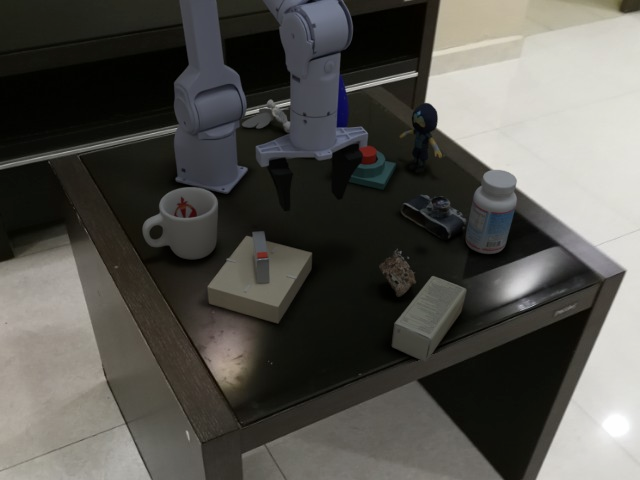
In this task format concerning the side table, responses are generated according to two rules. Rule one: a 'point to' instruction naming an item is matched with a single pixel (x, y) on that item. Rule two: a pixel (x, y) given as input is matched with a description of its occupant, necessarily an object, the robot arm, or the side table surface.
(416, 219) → the camera
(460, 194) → the side table surface
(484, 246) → the pill bottle
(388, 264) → the rock
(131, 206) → the side table surface
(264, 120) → the fairy figurine
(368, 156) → the button
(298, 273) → the panel
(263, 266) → the gray rectangular block
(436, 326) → the box
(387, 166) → the button block
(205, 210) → the cup
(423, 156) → the character figure
